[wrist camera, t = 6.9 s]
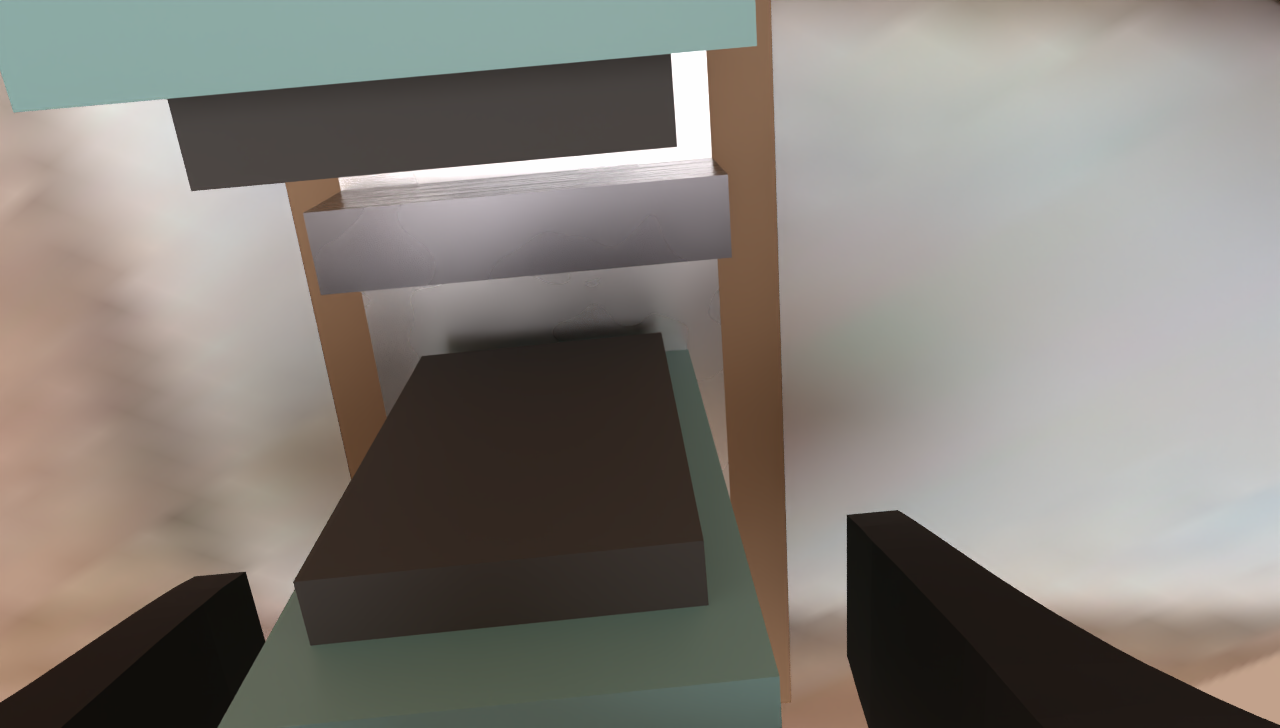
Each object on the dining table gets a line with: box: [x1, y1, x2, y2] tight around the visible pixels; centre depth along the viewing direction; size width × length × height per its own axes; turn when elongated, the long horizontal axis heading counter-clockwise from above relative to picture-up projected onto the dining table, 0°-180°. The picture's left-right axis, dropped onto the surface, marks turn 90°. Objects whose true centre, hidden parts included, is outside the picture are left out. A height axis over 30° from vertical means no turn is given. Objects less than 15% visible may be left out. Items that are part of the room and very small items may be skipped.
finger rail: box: [0, 0, 791, 703], centre depth 10 cm, size 7×16×9 cm, turn 5°
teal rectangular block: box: [218, 332, 782, 728], centre depth 10 cm, size 5×4×7 cm
